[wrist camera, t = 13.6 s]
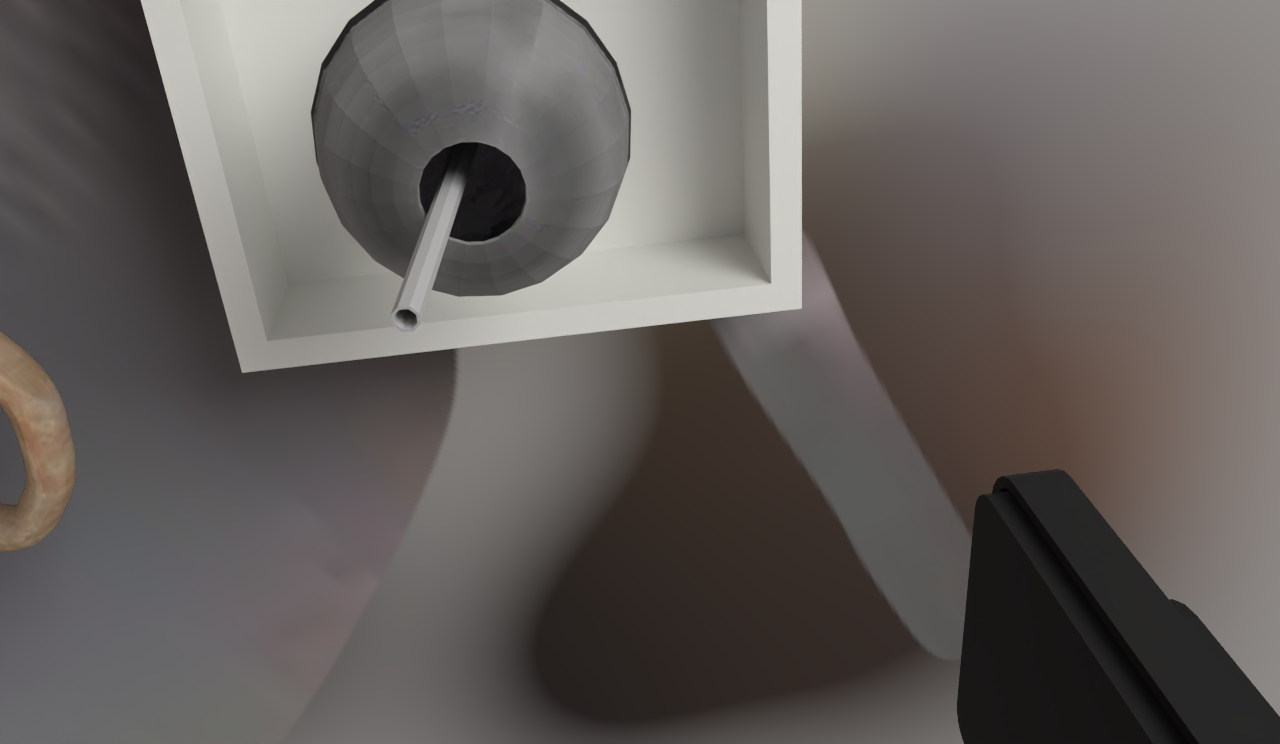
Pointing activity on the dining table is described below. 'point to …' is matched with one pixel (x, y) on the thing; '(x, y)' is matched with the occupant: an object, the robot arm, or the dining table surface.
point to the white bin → (579, 292)
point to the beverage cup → (470, 142)
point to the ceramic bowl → (35, 448)
